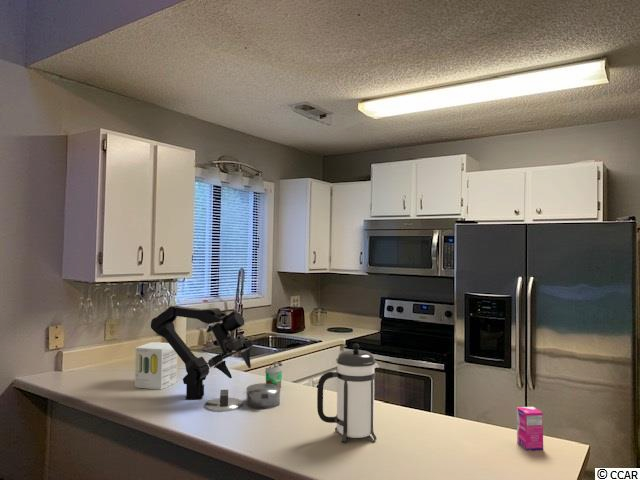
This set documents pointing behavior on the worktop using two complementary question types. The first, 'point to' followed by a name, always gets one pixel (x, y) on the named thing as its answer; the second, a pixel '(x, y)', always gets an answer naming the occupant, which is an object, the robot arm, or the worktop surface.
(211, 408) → the lid
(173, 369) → the supplement box
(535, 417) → the supplement box
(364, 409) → the coffee press
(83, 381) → the worktop surface
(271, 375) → the food container
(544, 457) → the worktop surface
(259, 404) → the pot
